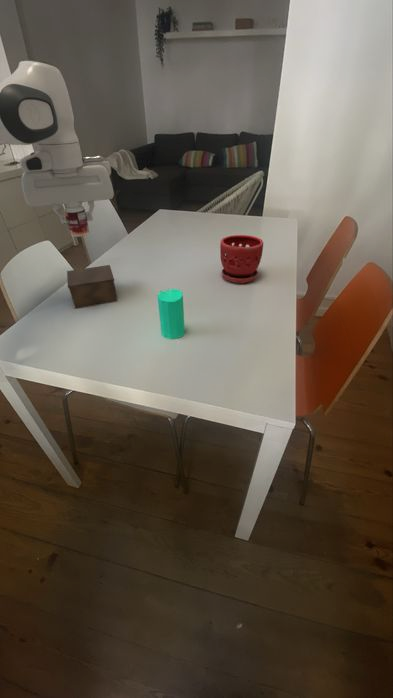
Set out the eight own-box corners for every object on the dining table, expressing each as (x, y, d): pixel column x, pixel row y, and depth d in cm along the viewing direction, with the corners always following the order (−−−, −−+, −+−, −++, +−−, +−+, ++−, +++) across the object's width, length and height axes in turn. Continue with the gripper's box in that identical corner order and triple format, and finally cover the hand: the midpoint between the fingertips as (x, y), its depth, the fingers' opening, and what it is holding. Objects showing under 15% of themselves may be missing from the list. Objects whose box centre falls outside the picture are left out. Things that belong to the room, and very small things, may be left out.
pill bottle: (66, 235, 81) (57, 200, 76) (80, 230, 84) (71, 196, 79) (80, 238, 79) (72, 202, 74) (93, 232, 83) (86, 197, 78)
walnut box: (74, 309, 90) (67, 286, 85) (73, 292, 98) (67, 271, 93) (118, 301, 93) (114, 278, 88) (113, 286, 101) (109, 264, 96)
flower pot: (266, 282, 100) (271, 244, 93) (227, 288, 98) (229, 250, 90) (249, 266, 110) (252, 231, 103) (214, 271, 108) (214, 235, 100)
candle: (186, 326, 82) (184, 283, 74) (182, 339, 77) (180, 295, 70) (163, 324, 82) (159, 282, 75) (158, 338, 78) (153, 294, 70)
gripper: (106, 153, 77) (116, 213, 85) (14, 159, 71) (35, 222, 80) (110, 156, 72) (120, 220, 80) (11, 163, 67) (33, 230, 75)
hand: (77, 221), depth 80 cm, fingers closed on pill bottle, 5 cm apart
